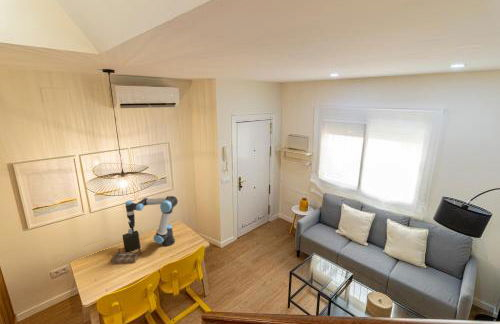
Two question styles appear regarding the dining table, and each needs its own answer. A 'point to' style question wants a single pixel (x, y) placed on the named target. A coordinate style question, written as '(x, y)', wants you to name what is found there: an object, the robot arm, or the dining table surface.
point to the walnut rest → (125, 257)
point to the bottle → (131, 241)
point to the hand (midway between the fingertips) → (133, 232)
